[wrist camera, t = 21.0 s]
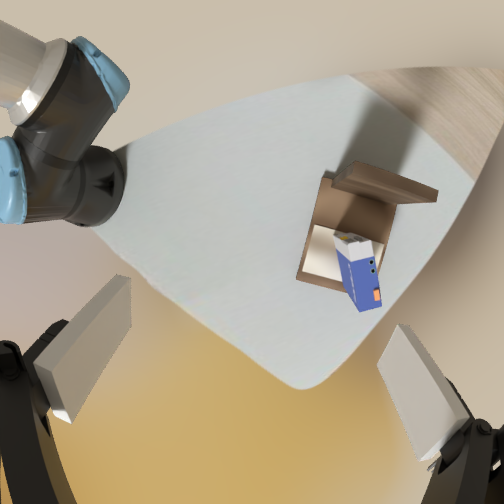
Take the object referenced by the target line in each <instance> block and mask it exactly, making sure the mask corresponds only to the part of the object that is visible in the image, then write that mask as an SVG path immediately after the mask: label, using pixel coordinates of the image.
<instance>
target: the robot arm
mask: <svg viewBox="0 0 504 504" xmlns="http://www.w3.org/2000/svg"><path fill="white" fill-rule="evenodd" d="M129 88H130V83H129V80H128V78H127V77H126V75H125V74H124V73H123V72H122V71H121V70H120V69H119V68H118V66H117V65H116V64H114V62H112V60H110V59H109V58H108V57H107V56H106V55H105V54H104V53H102V52H101V51H100V50H99V49H98V48H97V47H96V46H95V45H94V44H92V43H91V42H90V41H88V40H87V39H86V38H84V37H82V36H78V37H77V38H76V39H73V40H72V41H71V43H69V42H68V41H66V40H65V39H62V38H59V39H56V40H53V41H50V42H47V43H44V42H42V41H40V40H38V39H36V38H35V37H33V36H31V35H28V34H27V33H25V32H23V31H21V30H19V29H17V28H15V27H13V26H11V25H9V24H7V23H5V22H3V21H1V20H0V106H1V107H4V108H7V110H8V113H9V116H10V120H11V123H12V124H14V125H16V126H17V128H16V130H15V132H14V134H13V136H12V137H9V136H5V137H2V138H0V223H4V224H14V223H15V224H18V225H19V224H24V223H33V222H41V221H50V220H59V219H63V220H65V221H67V222H70V223H72V224H75V225H77V226H80V227H94V226H98V225H101V224H103V223H105V222H106V221H107V220H108V219H109V218H110V217H111V216H112V215H113V214H114V212H115V211H116V209H117V207H118V205H119V203H120V200H121V197H122V193H123V186H124V177H123V170H122V167H121V164H120V162H119V160H118V158H117V157H116V155H115V154H114V153H113V152H112V151H110V150H109V149H106V148H103V147H100V146H93V145H91V144H92V142H93V141H94V139H95V137H96V136H97V135H98V133H99V132H100V131H101V129H102V128H103V126H104V125H105V124H106V122H107V121H108V119H109V118H110V117H111V115H112V114H113V113H115V112H116V111H117V108H118V106H119V104H120V103H121V101H122V100H123V99H124V97H125V96H126V95H127V93H128V91H129ZM90 145H91V146H90ZM130 328H131V278H129V277H125V276H121V275H117V274H116V275H115V276H114V277H113V278H112V279H111V280H110V281H109V282H108V283H107V284H106V285H105V286H104V287H103V288H102V289H101V290H100V291H99V292H98V293H97V294H96V295H95V296H94V297H93V298H92V299H91V300H90V301H89V302H88V303H87V304H86V305H85V306H84V307H83V308H82V309H81V311H80V312H78V314H77V315H76V316H75V317H74V318H73V319H72V320H71V321H70V322H69V321H66V320H63V319H62V320H60V321H58V322H56V323H54V324H52V325H51V326H50V327H49V328H48V329H47V330H46V331H45V333H43V334H42V335H41V336H40V337H39V339H37V340H36V341H35V343H34V344H33V345H32V346H31V347H30V348H29V349H28V350H27V351H26V352H25V353H24V355H23V356H22V354H21V351H20V348H19V346H18V345H17V344H16V343H14V342H12V341H6V340H3V341H0V466H1V456H2V462H3V467H4V471H5V476H6V480H7V484H8V488H9V492H10V496H11V499H12V502H13V504H77V503H76V500H75V498H74V496H73V493H72V491H71V488H70V486H69V483H68V481H67V478H66V475H65V473H64V470H63V467H62V464H61V461H60V458H59V455H58V452H57V449H56V445H55V442H54V438H53V435H52V431H51V427H50V423H49V419H48V416H47V414H46V413H47V411H48V410H49V408H50V407H51V409H52V411H53V413H54V415H55V416H56V417H58V418H60V419H62V420H64V421H66V422H69V423H71V424H72V423H73V421H74V419H75V418H76V416H77V414H78V412H79V410H80V409H81V407H82V405H83V404H84V402H85V400H86V398H87V397H88V395H89V393H90V392H91V390H92V388H93V387H94V385H95V383H96V381H97V380H98V378H99V377H100V375H101V373H102V371H103V370H104V368H105V367H106V365H107V363H108V362H109V360H110V359H111V357H112V356H113V354H114V352H115V351H116V349H117V348H118V346H119V345H120V343H121V341H122V340H123V338H124V337H125V335H126V334H127V332H128V331H129V329H130ZM377 366H378V369H379V371H380V373H381V375H382V377H383V379H384V382H385V384H386V386H387V388H388V391H389V393H390V395H391V397H392V400H393V402H394V404H395V406H396V409H397V411H398V413H399V416H400V418H401V421H402V423H403V425H404V428H405V430H406V433H407V435H408V437H409V440H410V443H411V445H412V447H413V450H414V453H415V455H416V458H417V461H423V460H427V459H431V458H432V457H433V456H434V455H435V454H436V453H437V452H438V451H439V450H440V452H441V456H440V457H439V458H438V459H437V460H436V461H435V462H434V463H433V464H431V465H430V466H429V467H428V469H427V470H428V471H429V470H430V469H431V468H432V467H434V466H435V468H434V470H433V471H432V473H433V474H432V477H431V479H430V482H429V485H428V487H427V490H426V493H425V495H424V497H423V500H422V503H421V504H504V425H503V426H502V427H501V428H500V429H492V427H491V425H490V424H489V423H488V422H487V421H485V420H483V419H476V420H475V418H474V417H473V415H472V413H471V412H470V410H469V409H468V407H467V405H466V404H465V402H464V400H463V399H461V396H460V394H459V393H457V389H456V388H455V386H454V385H453V383H451V381H449V380H448V379H447V378H446V377H445V376H444V375H443V373H442V372H441V370H440V369H439V367H438V366H437V364H436V363H435V361H434V360H433V358H432V357H431V356H430V354H429V353H428V351H427V350H426V348H425V347H424V346H423V344H422V343H421V341H420V340H419V339H418V337H417V336H416V334H415V333H414V332H413V330H412V329H411V328H410V326H409V325H403V324H397V326H396V328H395V330H394V332H393V334H392V336H391V339H390V340H389V342H388V344H387V346H386V348H385V350H384V352H383V354H382V356H381V358H380V360H379V362H378V364H377ZM499 460H500V462H501V465H500V466H499V467H498V468H496V469H495V470H494V471H493V466H494V465H495V464H496V463H497V462H498V461H499ZM0 504H1V491H0Z"/></svg>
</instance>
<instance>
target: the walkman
mask: <svg viewBox="0 0 504 504" xmlns="http://www.w3.org/2000/svg"><path fill="white" fill-rule="evenodd" d="M333 238H334V243H335V247H336V252H337V257H338V262H339V267H340V272H341V277H342V282H343V286H344V288H345V290H346V291H347V293H348V294H349V296H350V298H351V299H352V301H353V302H354V304H355V306H356V307H357V309H358V311H359V312H362V311H366V310H370V309H374V308H377V307H381V306H382V303H381V295H380V288H379V281H378V275H377V268H376V262H375V257H374V253H373V247H372V242H371V240H369V239H367V238H364V237H362V236H359V235H356V234H354V233H351V232H350V233H346V234H343V233H340V234H336V235H333Z"/></svg>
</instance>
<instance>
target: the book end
mask: <svg viewBox="0 0 504 504" xmlns="http://www.w3.org/2000/svg"><path fill="white" fill-rule="evenodd" d="M438 191H439V190H436V189H434V188H431V187H429V186H426V185H424V184H421V183H419V182H416V181H413V180H411V179H408V178H405V177H403V176H400V175H397V174H394V173H391V172H389V171H386V170H383V169H380V168H377V167H374V166H371V165H368V164H364V163H361V162H358V161H354V162H353V163H352V164H351V165H349V166H348V167H347V168H346V169H345V170H343V171H342V172H341V173H340V174H339V175H338V176H336V177H335V178H334V179H333V180H332V179H329V178H325V177H322V179H321V183H320V187H319V192H318V196H317V200H316V204H315V208H314V212H313V216H312V220H311V224H310V228H309V231H308V235H307V239H306V243H305V247H304V250H303V254H302V258H301V261H300V265H299V269H298V272H297V276H296V280H299V281H303V282H307V283H311V284H315V285H318V286H322V287H326V288H330V289H334V290H338V291H342V292H346V293H347V291H346V290H345V288H344V286H343V282H342V277H341V272H340V267H339V262H338V257H337V252H336V247H335V243H334V238H333V235H336V234H340V233H343V234H346V233H350V232H351V233H354V234H356V235H359V236H362V237H364V238H367V239H369V240H371V242H372V247H373V253H374V257H375V262H376V268H377V275H378V274H379V271H380V267H381V264H382V260H383V257H384V254H385V250H386V246H387V243H388V239H389V235H390V231H391V227H392V224H393V219H394V215H395V211H396V207H397V204H410V203H431V202H436V201H437V196H438Z"/></svg>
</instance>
